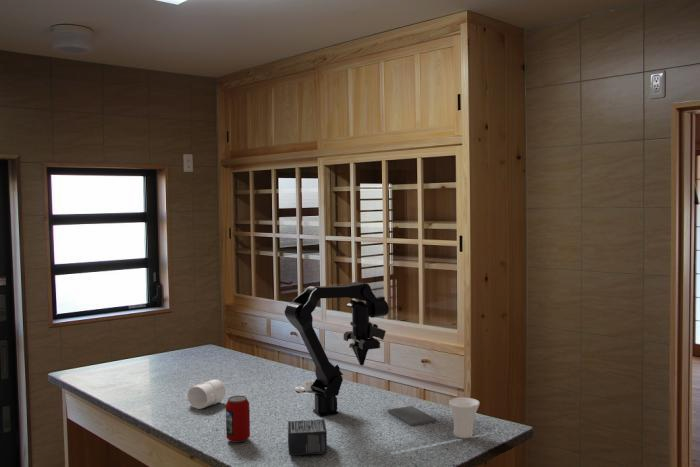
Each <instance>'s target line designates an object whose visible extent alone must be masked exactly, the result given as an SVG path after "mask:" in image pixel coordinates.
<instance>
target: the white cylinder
mask: <svg viewBox="0 0 700 467" xmlns="http://www.w3.org/2000/svg"><path fill="white" fill-rule="evenodd" d="M224 385H225V384H223V382H222V381H221V380H219V379H211V380H208V381H205V382H201V383H198V384H195V385H193V386H192V387H189V389H188V391H187V400H188V402H189V404H190V406H192V407H193V408H195V409H198V410H199V409H200V410H201V409H204V408H206V407H209V406H214V405H216V404H218V403H221V402H223V401H224V400H225V397H226V388H225V386H224Z"/></svg>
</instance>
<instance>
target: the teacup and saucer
mask: <svg viewBox="0 0 700 467" xmlns="http://www.w3.org/2000/svg"><path fill="white" fill-rule="evenodd" d="M313 383H314V380H313V379H305V380H304V386H305V387H303V386H295V388H294V390H295V392H298V393H300V394H303V395H312V394H314V392H312V390H311V386H312V384H313ZM305 391H306V392H305Z"/></svg>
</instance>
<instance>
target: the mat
mask: <svg viewBox="0 0 700 467" xmlns="http://www.w3.org/2000/svg"><path fill="white" fill-rule="evenodd" d="M387 413H388V414H389V415H391V416H393V417H395V418H397V419H399V420H401V421H402V422H403V423H405V424H406V425H408V426H410V427H414V426H419V425H424V424H425V425H426V424H429V423H430V424H431V423H436V422H437V418H435V417H434V416H432V415H430V414H427V413H425V412H424V411H423V410H421V409H419V408H417V407H415V406H412V405H408V406H404V407H397V408H391V409H387Z"/></svg>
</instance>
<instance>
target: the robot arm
mask: <svg viewBox="0 0 700 467" xmlns="http://www.w3.org/2000/svg"><path fill="white" fill-rule="evenodd" d="M339 298H345V299H346V298H347V299H348V298H349V299H350V301H349V302H348V303H347V304H346V307H347V308H351V314H352V316H351V318H352V320H351V321H350V322H349V323H350V326H352V330H349V331H345V332H344V334H343V341H346V342H349V340H351V342H350V343H349V346H350V347H351V349H352V351H353V353H354V355H355V357H356V359H357V362H358V364H359V365H360V366H364V365H365V361H366V358H367V354H368V351H369V350H376V349H380V348H381V342H380V341H379V340H378V339H380V340H384V339H385V335H386V332H387V331H386V329H382V328H379V326H378V324H375V323H373V322H371V321H370V318H372V319H373V318H378V317H385V316H387V315H388V314H389V311H390V306H389V304H388V302H387V301H386V298H385V296H381V295H380V296H376V295H375V293H374V292H373V290H372V287H371V285H370V284H369V283H366V282H365V283H364V282H358V281H353V282H348V283H346V284H344V285H331V286H330V285H328V286H326V285H325V286H323V285H322V286H315V285H310V286H307V288H306V289H304V291H303V292H302V293H300V294H299V295H297V296H296V297H295V298H294V299H293V300H292V301H291V302H290V303H288V304H287V305H286V306H285V310H284V316H285V317H286V319H287V320H288V321H289V323H290V325H291V326H293V327H294V328H295V329H296V330H297V331H298V333H299V335H300V336H301V339H302V341H303V343H304V346H305V347H306V349H307V352H308V354H309V356H310V357H311V360H312V361H313V363H314V366H315V377H316V378H315V380H313V382H314V383H313V384H312V386H311V390H312V391H311V393H313V394H314V408H313V409H312V411H313V412H314V413H315V414H316V415H318V416H319V417H325V416H331V415H336V414H339V411H338V398H337V396H339V393H340V389H341V386H342V383H343V382H344V379H343V375H344V373H342V372H341V370H340V369H341V368H340V366H339V364H337V363H334V362H330V359H329V358H328V355H327V353H326V351H325V350H324V347H323V346H322V344H321V341H320V339H319V337H318V335H317V333H316V331H315V328H314V327H313V318H314V317H313V312H314V311H315V310H316V308H317V304H318V302H319V300H321V299H339ZM356 300H358V301H356ZM374 337H375V338H374ZM377 338H378V339H377Z"/></svg>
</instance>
